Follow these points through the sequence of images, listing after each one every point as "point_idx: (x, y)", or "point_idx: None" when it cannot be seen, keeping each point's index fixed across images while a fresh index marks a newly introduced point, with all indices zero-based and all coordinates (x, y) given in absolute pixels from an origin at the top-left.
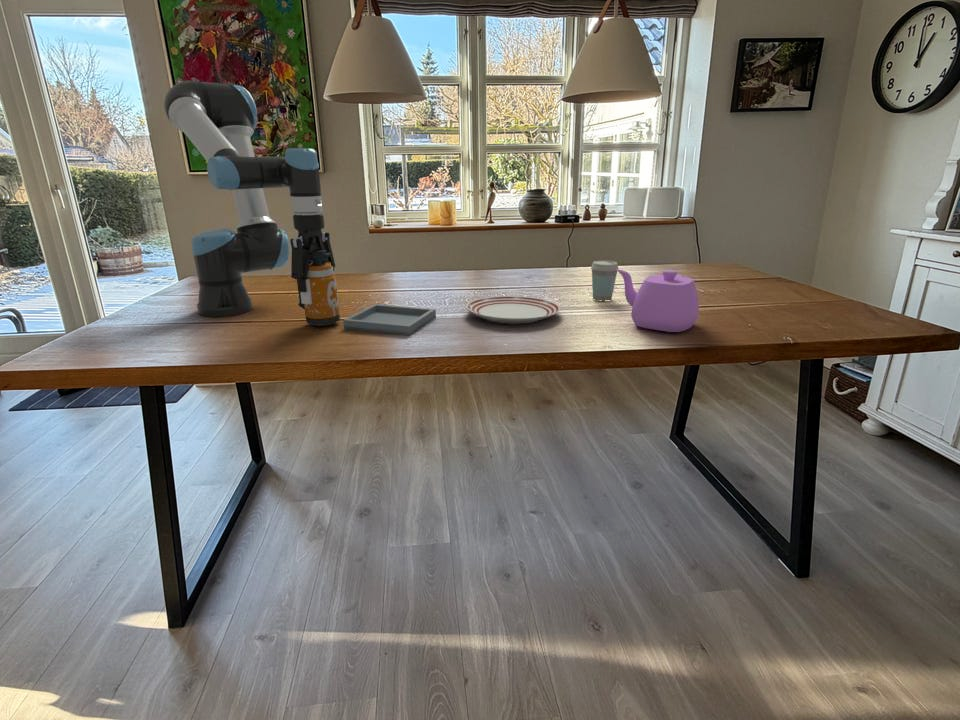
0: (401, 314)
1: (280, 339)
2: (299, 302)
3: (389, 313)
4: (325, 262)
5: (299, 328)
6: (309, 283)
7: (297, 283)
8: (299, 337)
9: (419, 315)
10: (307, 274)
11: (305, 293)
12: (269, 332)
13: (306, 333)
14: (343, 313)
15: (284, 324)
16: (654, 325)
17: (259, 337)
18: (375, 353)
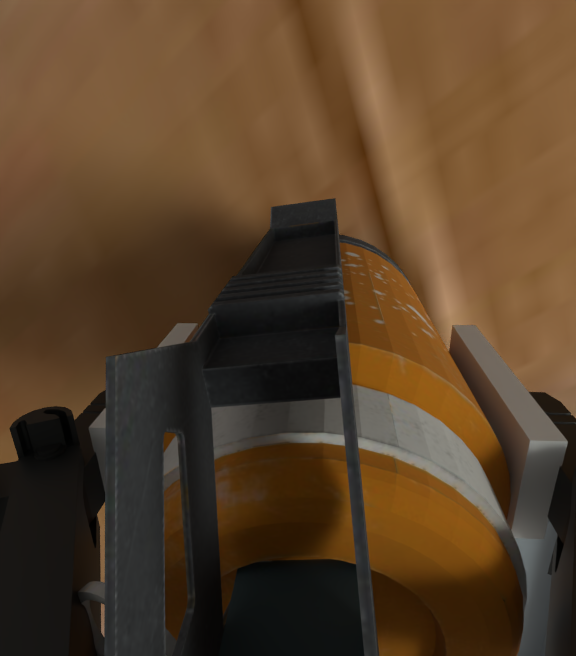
0: (536, 585)
1: (46, 259)
2: (270, 225)
3: (546, 539)
4: (545, 652)
5: (222, 234)
6: None
7: (245, 267)
8: (110, 324)
9: (530, 645)
10: (98, 560)
11: None
12: (97, 117)
13: (170, 319)
14: (563, 298)
15: (254, 89)
16: None
17: (11, 129)
18: (104, 627)
